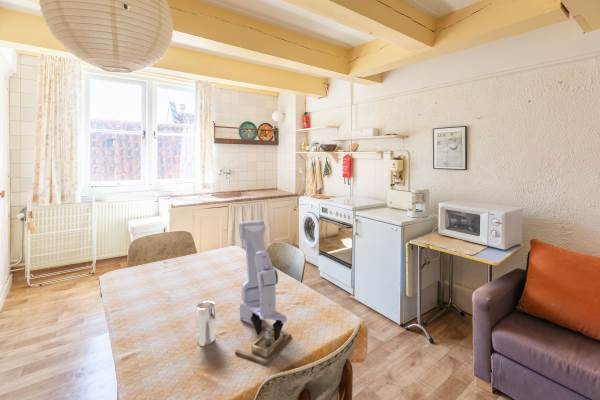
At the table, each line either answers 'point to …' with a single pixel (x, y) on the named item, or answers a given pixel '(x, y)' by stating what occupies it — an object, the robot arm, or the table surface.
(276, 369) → the table surface
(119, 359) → the table surface
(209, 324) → the silver metal tumbler
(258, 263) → the robot arm
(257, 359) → the bay
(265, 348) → the crate
